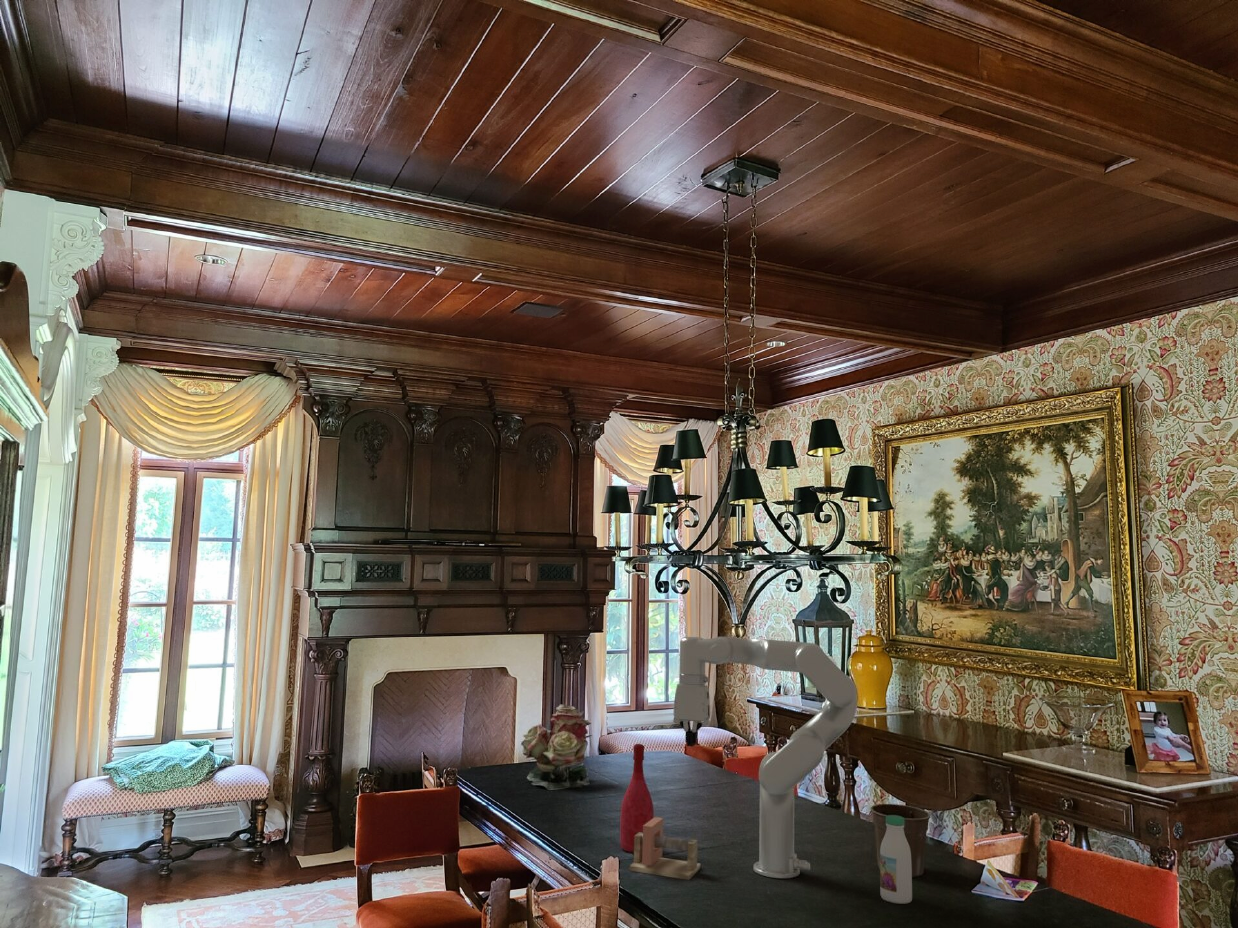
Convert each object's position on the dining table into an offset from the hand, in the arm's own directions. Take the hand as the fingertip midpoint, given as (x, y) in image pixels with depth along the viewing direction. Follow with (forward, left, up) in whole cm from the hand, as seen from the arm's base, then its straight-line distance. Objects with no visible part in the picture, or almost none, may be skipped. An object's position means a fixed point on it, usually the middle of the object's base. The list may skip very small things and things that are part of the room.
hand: (691, 745), depth 247 cm
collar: (+8, +8, -30) cm, 32 cm away
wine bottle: (+18, -6, -32) cm, 37 cm away
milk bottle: (-56, +4, -32) cm, 65 cm away
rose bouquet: (+75, -74, -32) cm, 111 cm away
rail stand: (+4, +8, -32) cm, 33 cm away
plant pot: (-56, -21, -32) cm, 68 cm away
